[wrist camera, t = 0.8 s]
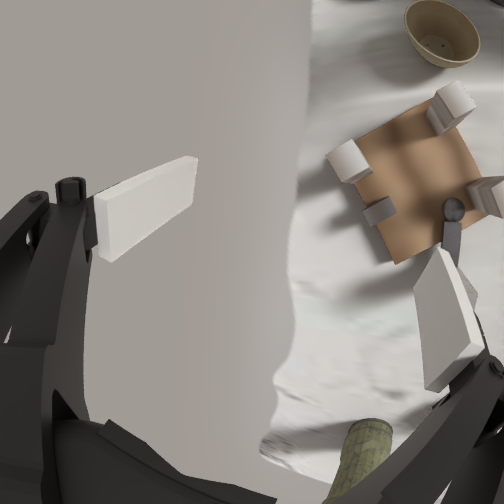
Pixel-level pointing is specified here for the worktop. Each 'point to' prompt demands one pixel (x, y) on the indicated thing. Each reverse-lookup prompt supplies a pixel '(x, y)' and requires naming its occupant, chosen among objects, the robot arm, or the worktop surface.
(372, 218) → the stool
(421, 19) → the flower pot
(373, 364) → the worktop surface
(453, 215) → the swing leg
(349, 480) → the thermos
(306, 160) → the worktop surface
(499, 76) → the worktop surface
